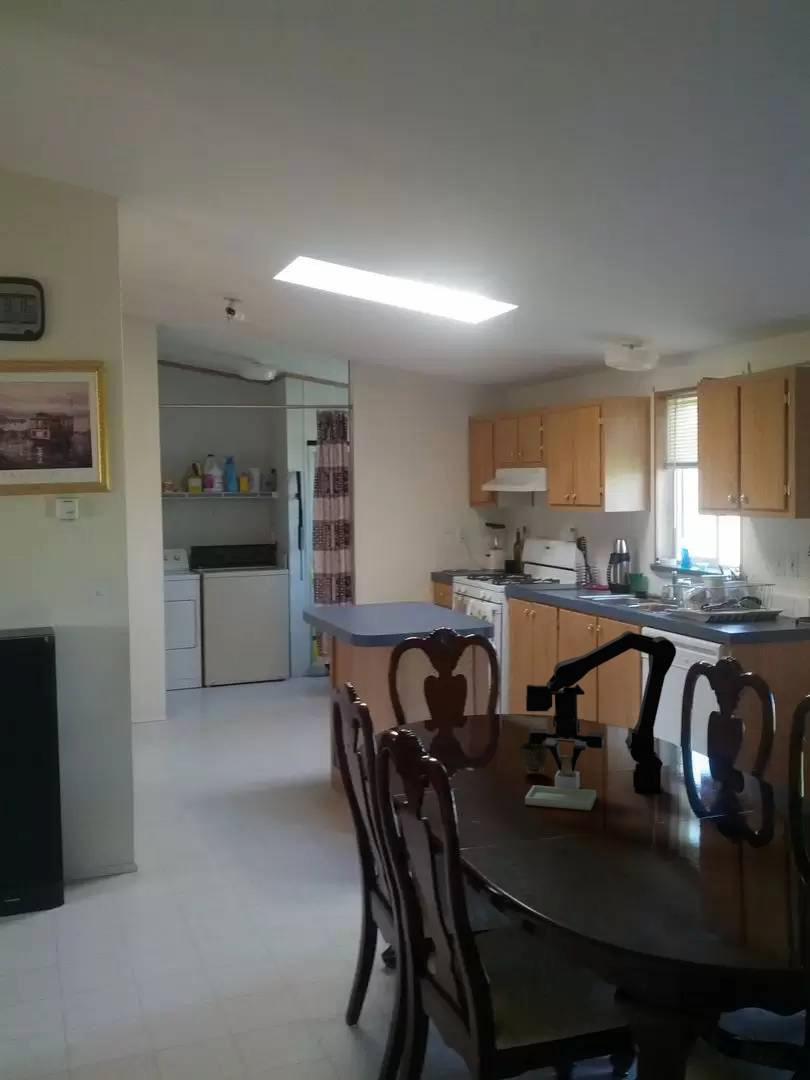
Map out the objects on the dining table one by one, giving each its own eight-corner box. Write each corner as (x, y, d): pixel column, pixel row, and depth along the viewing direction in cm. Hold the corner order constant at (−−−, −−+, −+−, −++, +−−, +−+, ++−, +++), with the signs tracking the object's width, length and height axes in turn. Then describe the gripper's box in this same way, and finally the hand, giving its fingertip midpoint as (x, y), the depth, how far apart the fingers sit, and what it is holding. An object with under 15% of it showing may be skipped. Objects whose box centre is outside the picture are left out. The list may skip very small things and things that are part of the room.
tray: (596, 797, 234) (596, 790, 234) (590, 810, 225) (590, 802, 224) (533, 792, 239) (533, 785, 239) (525, 804, 230) (525, 797, 230)
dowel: (574, 786, 242) (573, 755, 241) (572, 789, 239) (571, 758, 239) (562, 785, 243) (562, 754, 242) (560, 788, 240) (560, 758, 240)
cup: (539, 779, 250) (538, 750, 249) (515, 775, 254) (514, 746, 254) (552, 772, 256) (551, 743, 255) (528, 768, 260) (528, 740, 260)
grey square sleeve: (579, 787, 243) (579, 771, 242) (576, 793, 237) (576, 778, 237) (558, 785, 244) (558, 770, 244) (554, 791, 239) (554, 776, 239)
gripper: (606, 706, 244) (607, 765, 245) (536, 702, 251) (537, 760, 251) (601, 715, 234) (602, 777, 235) (527, 712, 240) (528, 771, 241)
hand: (567, 771), depth 241 cm, fingers closed on dowel, 3 cm apart
